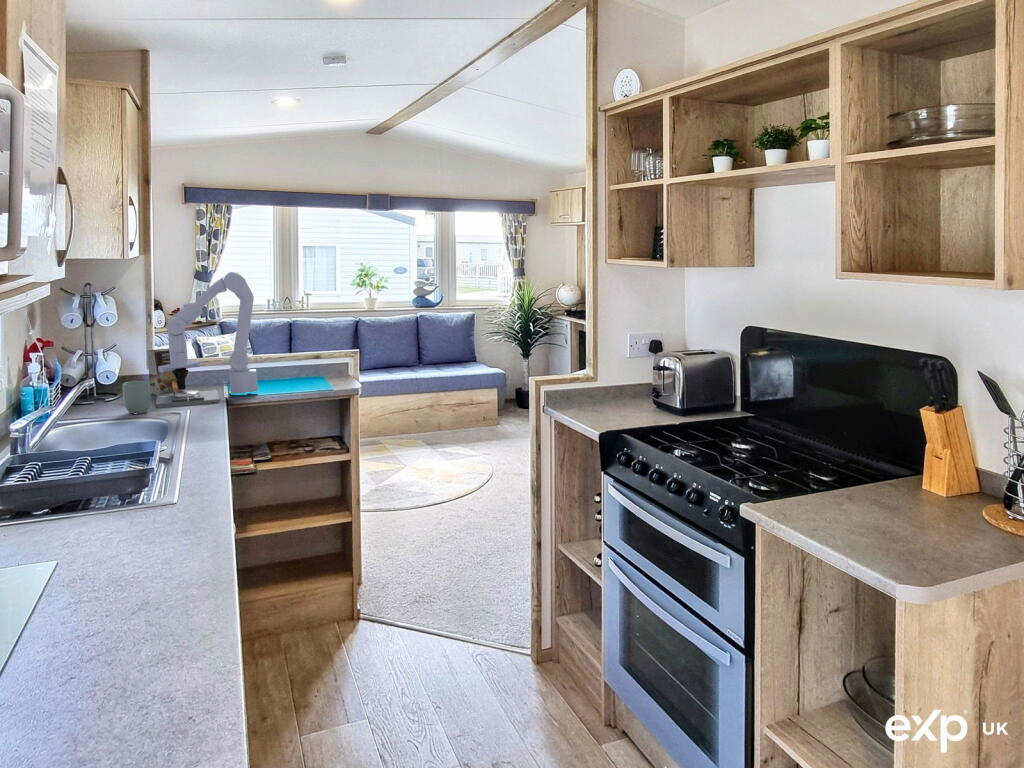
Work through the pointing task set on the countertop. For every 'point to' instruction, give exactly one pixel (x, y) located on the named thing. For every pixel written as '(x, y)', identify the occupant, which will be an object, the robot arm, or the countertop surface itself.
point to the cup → (137, 396)
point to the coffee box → (160, 380)
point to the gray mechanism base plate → (187, 399)
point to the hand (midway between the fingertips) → (181, 389)
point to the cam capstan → (183, 393)
